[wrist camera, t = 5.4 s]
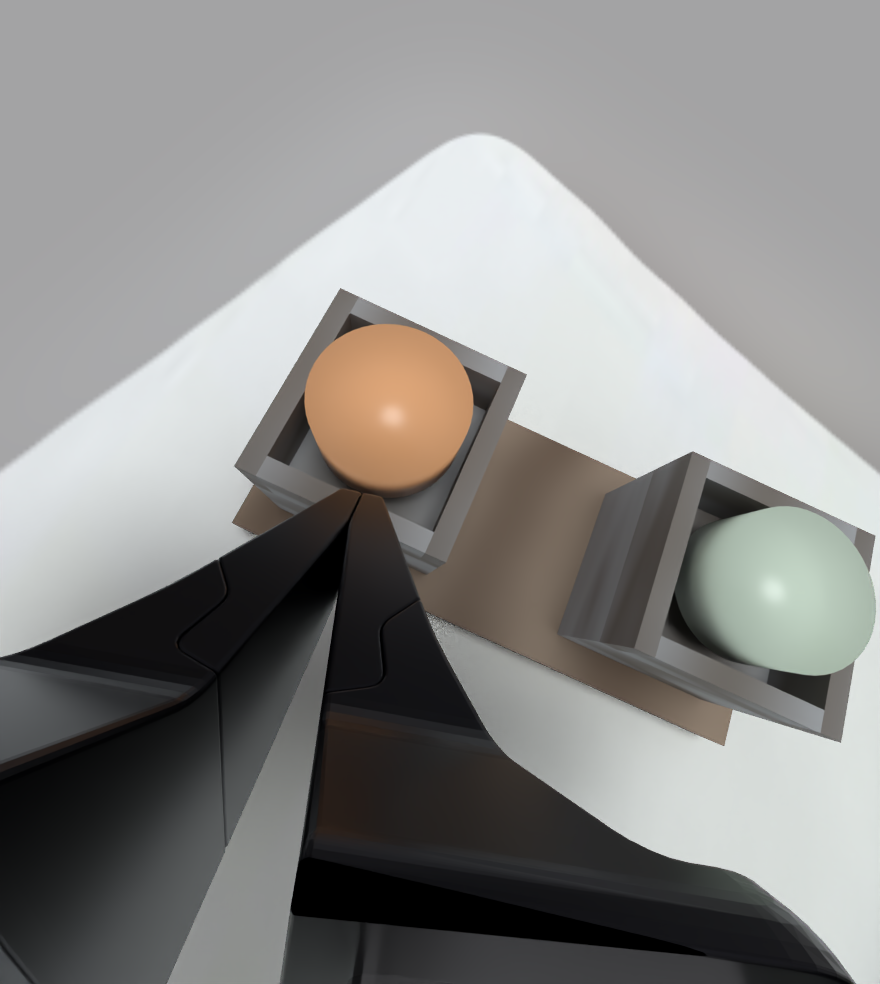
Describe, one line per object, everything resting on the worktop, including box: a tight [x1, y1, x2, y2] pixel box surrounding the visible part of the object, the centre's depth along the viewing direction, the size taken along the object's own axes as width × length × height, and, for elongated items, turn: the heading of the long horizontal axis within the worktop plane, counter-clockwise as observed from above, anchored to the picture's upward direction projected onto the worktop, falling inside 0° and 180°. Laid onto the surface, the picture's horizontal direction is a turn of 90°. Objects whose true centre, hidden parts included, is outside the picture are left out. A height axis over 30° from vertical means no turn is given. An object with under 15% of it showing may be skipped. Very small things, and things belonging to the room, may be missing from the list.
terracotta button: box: [304, 324, 473, 498], centre depth 12 cm, size 4×4×2 cm
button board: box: [232, 288, 875, 746], centre depth 16 cm, size 20×8×7 cm, turn 66°
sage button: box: [675, 506, 876, 676], centre depth 13 cm, size 4×4×2 cm
